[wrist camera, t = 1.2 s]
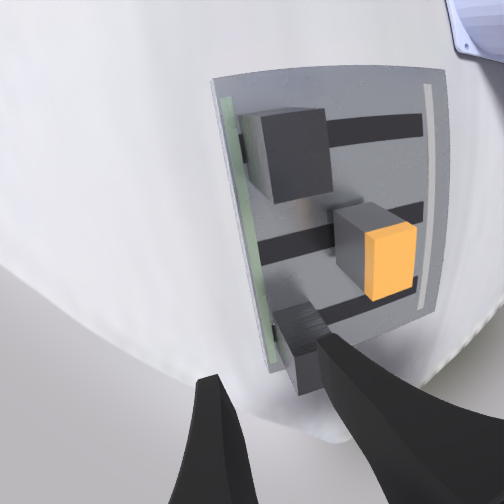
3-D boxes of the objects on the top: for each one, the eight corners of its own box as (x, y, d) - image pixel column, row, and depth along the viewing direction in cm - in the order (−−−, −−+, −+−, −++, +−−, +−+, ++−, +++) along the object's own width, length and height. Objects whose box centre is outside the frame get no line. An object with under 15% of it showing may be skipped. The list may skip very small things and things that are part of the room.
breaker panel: (432, 69, 16) (493, 71, 11) (425, 303, 24) (465, 339, 19) (209, 81, 14) (227, 67, 9) (264, 362, 22) (287, 418, 17)
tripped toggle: (371, 201, 17) (417, 227, 13) (371, 253, 18) (411, 286, 15) (332, 210, 16) (374, 239, 13) (335, 263, 18) (372, 301, 14)
